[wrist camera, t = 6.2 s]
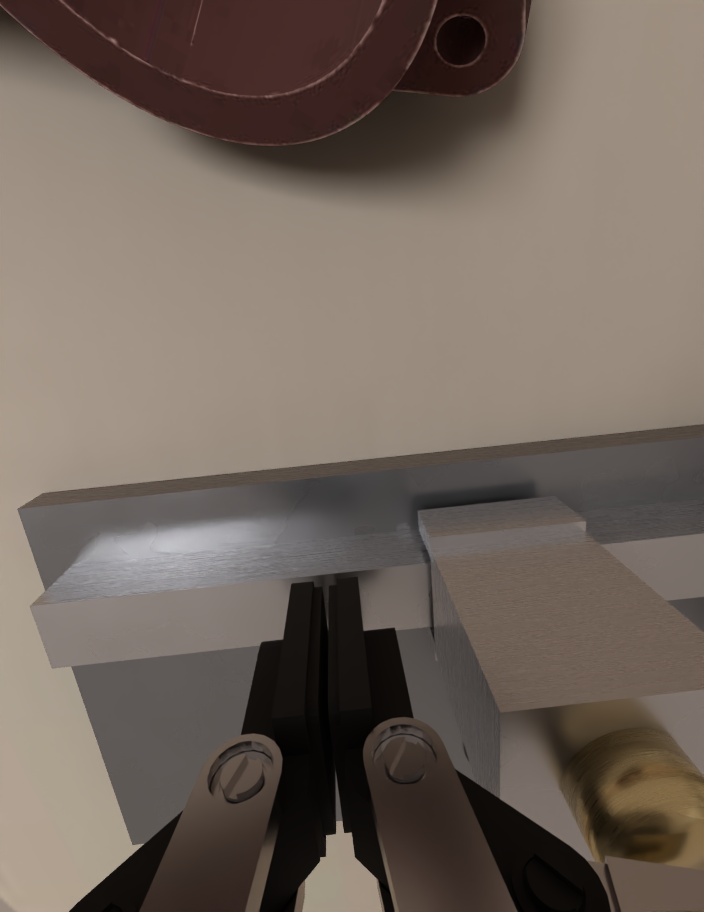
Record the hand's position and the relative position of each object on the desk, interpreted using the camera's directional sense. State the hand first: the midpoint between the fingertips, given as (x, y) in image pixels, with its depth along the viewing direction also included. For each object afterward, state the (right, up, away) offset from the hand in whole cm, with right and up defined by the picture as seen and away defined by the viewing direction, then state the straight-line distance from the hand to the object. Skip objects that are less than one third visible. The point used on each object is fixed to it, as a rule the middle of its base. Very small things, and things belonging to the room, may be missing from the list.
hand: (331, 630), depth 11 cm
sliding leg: (+5, -2, +3) cm, 6 cm away
